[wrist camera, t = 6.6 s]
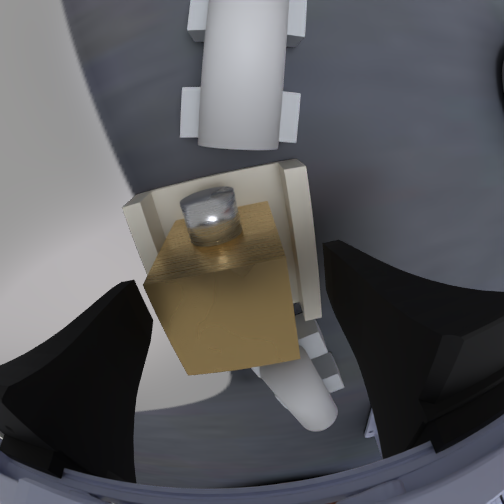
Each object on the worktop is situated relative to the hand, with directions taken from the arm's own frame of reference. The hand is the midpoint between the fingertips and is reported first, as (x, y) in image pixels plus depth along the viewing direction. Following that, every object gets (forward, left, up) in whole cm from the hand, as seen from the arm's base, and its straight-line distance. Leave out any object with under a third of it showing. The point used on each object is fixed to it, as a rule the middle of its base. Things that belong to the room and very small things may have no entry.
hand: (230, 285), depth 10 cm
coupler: (0, 0, -3) cm, 3 cm away
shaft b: (+8, -2, -3) cm, 9 cm away
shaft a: (-8, -2, -3) cm, 9 cm away
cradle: (0, 0, -3) cm, 3 cm away
